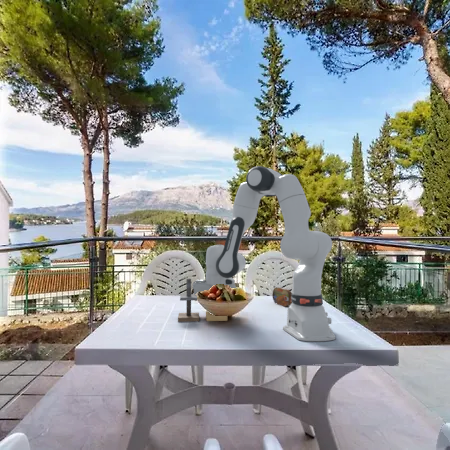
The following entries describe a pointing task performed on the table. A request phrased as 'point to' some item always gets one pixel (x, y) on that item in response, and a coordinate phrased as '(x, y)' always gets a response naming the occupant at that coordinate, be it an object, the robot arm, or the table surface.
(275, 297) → the tin
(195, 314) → the stand
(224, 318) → the tan rectangular frame
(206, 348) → the table surface
